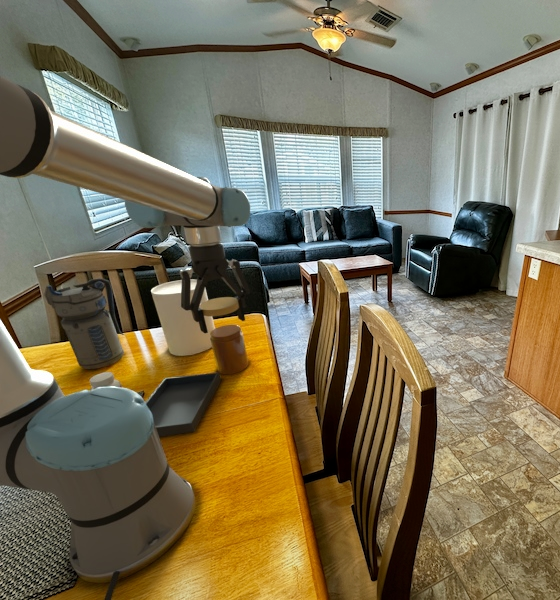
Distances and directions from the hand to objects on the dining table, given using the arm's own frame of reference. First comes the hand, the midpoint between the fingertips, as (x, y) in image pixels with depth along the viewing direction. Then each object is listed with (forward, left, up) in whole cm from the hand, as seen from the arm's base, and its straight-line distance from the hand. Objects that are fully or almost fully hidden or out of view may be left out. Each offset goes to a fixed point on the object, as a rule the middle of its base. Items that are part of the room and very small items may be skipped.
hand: (223, 325), depth 89 cm
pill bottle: (-15, +22, -13) cm, 30 cm away
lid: (0, 0, +6) cm, 6 cm away
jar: (0, 0, -13) cm, 13 cm away
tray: (-16, +8, -13) cm, 22 cm away
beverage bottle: (+11, +38, -13) cm, 42 cm away
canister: (+16, +16, -13) cm, 26 cm away
